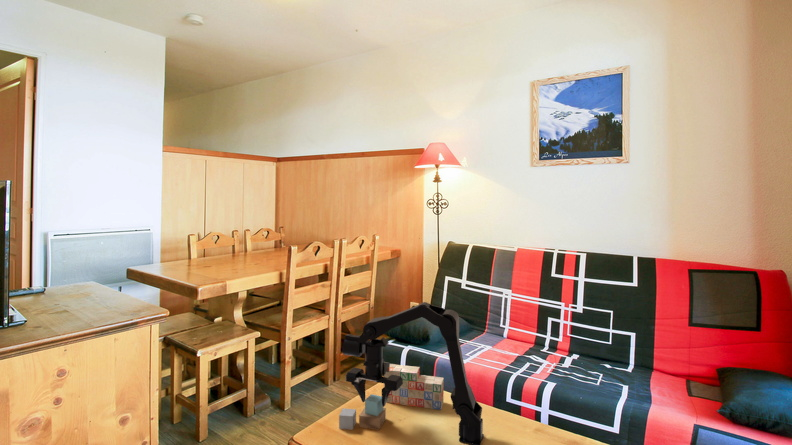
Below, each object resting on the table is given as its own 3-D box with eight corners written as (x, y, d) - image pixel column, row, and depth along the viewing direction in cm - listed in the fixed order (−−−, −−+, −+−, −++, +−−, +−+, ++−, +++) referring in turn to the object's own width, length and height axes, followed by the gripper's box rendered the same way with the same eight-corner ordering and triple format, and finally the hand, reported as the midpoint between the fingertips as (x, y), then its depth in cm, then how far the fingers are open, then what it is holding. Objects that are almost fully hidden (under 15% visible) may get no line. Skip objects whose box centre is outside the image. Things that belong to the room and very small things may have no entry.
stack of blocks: (443, 402, 147) (444, 369, 146) (441, 410, 141) (441, 376, 140) (388, 394, 153) (388, 363, 152) (383, 402, 147) (383, 369, 146)
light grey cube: (356, 422, 132) (356, 409, 132) (352, 430, 128) (352, 416, 128) (342, 421, 133) (342, 408, 133) (339, 428, 129) (339, 415, 129)
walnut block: (385, 419, 135) (385, 408, 135) (379, 430, 128) (379, 418, 128) (366, 416, 137) (366, 405, 136) (359, 427, 130) (359, 415, 130)
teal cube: (383, 409, 133) (383, 396, 133) (377, 416, 129) (377, 402, 129) (371, 407, 135) (371, 394, 135) (365, 413, 131) (365, 399, 131)
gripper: (408, 353, 135) (408, 398, 136) (360, 346, 143) (360, 388, 143) (395, 365, 125) (395, 414, 126) (344, 356, 133) (344, 402, 133)
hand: (373, 403), depth 132 cm, fingers open, 7 cm apart
